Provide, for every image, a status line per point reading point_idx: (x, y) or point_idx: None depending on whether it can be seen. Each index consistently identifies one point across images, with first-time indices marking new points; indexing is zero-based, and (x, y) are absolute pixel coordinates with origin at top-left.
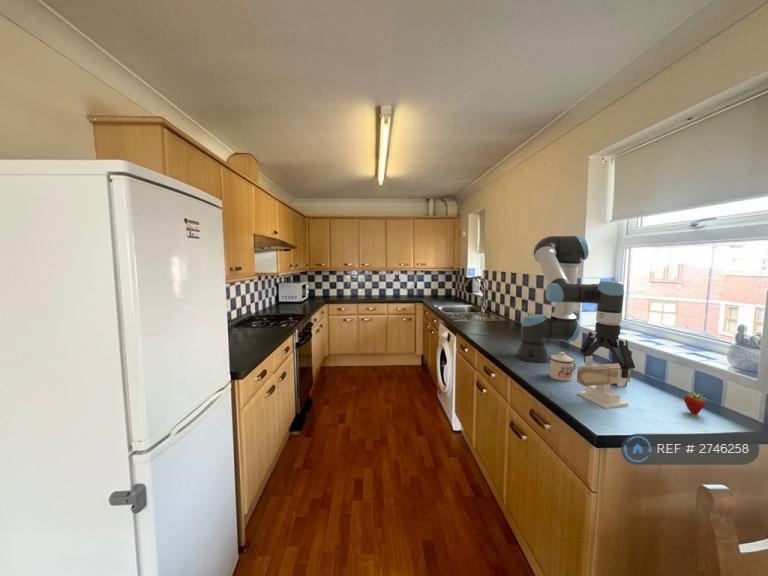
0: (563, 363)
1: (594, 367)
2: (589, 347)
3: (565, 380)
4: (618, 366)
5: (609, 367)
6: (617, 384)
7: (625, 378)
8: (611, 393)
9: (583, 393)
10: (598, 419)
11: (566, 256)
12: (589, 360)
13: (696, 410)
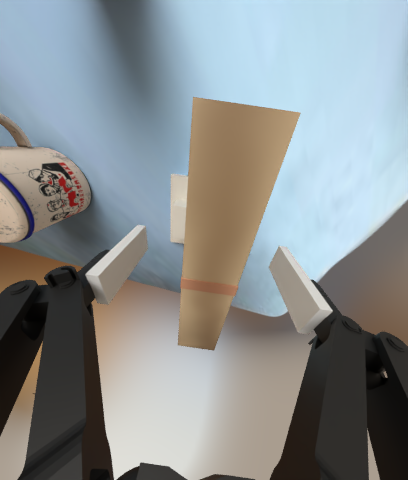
0: (35, 225)
1: (203, 322)
2: (7, 334)
3: (90, 196)
4: (240, 221)
5: (228, 280)
6: (271, 270)
7: (300, 268)
8: None
9: (182, 239)
10: (259, 290)
11: None
12: (118, 274)
13: None
